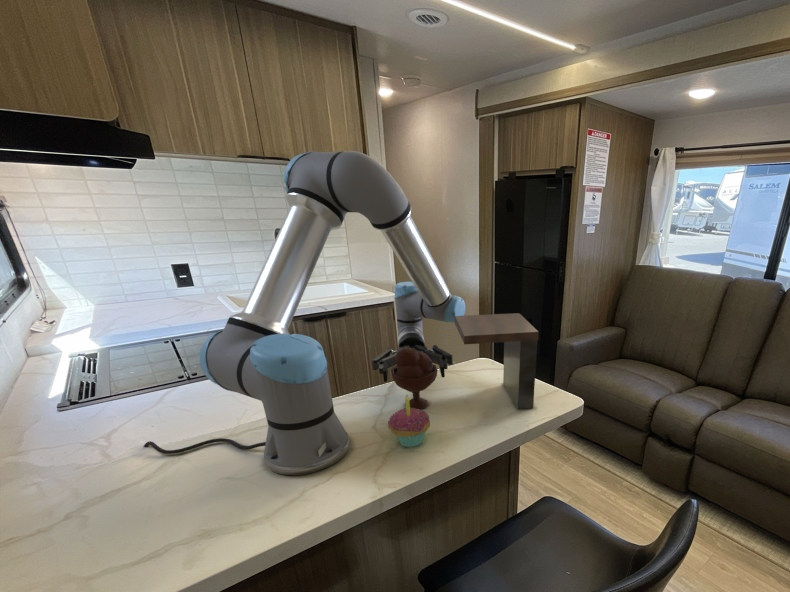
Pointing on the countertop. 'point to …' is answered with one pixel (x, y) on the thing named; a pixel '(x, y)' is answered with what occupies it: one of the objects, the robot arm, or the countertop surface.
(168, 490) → the countertop surface
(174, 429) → the countertop surface
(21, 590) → the countertop surface
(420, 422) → the cupcake
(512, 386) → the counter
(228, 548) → the countertop surface
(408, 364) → the ice cream bowl
